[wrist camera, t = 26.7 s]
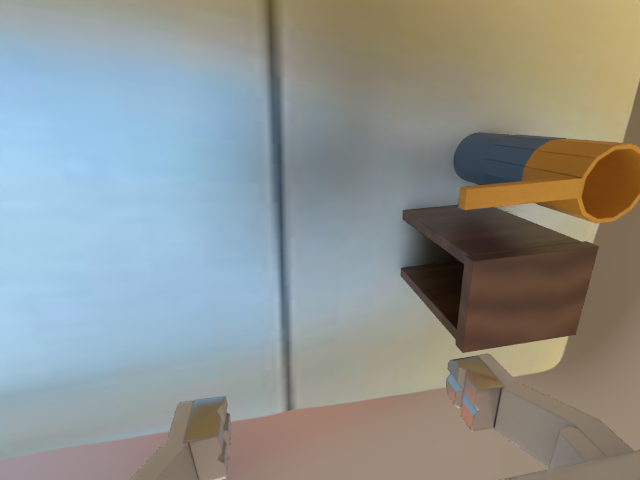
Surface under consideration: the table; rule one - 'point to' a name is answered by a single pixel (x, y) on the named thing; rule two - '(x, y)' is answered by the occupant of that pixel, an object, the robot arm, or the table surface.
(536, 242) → the stand
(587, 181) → the cup
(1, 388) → the table surface
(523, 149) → the blue-grey hollow cylinder
